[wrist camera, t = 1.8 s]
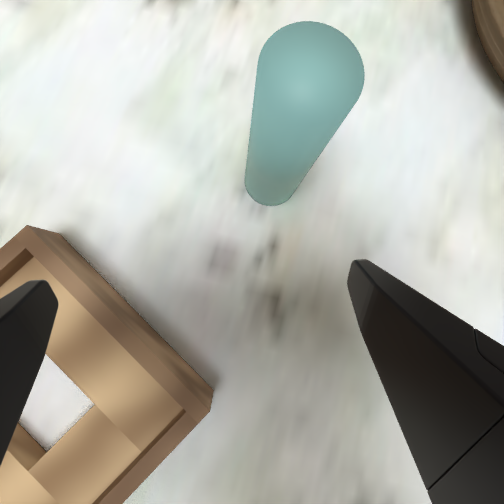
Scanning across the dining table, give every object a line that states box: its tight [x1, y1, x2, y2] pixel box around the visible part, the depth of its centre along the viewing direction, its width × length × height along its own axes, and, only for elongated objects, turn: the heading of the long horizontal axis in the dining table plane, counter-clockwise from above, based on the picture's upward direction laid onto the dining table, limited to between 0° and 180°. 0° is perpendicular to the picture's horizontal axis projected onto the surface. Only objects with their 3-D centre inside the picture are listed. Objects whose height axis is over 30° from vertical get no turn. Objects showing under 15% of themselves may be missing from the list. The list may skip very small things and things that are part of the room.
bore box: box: [0, 225, 214, 504], centre depth 20 cm, size 16×16×4 cm
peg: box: [245, 21, 364, 206], centre depth 18 cm, size 4×4×12 cm
